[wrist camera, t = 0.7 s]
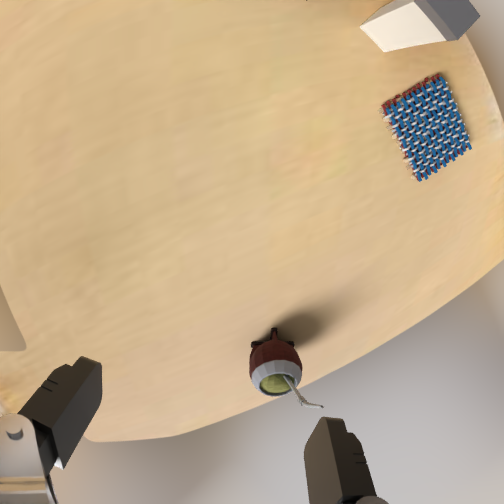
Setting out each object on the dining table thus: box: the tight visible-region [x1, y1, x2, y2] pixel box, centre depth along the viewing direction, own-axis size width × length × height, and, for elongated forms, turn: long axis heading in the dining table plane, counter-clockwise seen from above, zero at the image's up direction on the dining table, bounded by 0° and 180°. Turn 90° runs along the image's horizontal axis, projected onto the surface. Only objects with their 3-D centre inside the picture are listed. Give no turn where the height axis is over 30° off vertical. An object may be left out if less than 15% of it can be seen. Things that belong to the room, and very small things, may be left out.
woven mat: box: [378, 74, 472, 182], centre depth 32 cm, size 10×11×2 cm
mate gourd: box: [249, 328, 323, 408], centre depth 39 cm, size 8×8×15 cm
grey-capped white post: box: [360, 0, 480, 52], centre depth 21 cm, size 4×4×14 cm
